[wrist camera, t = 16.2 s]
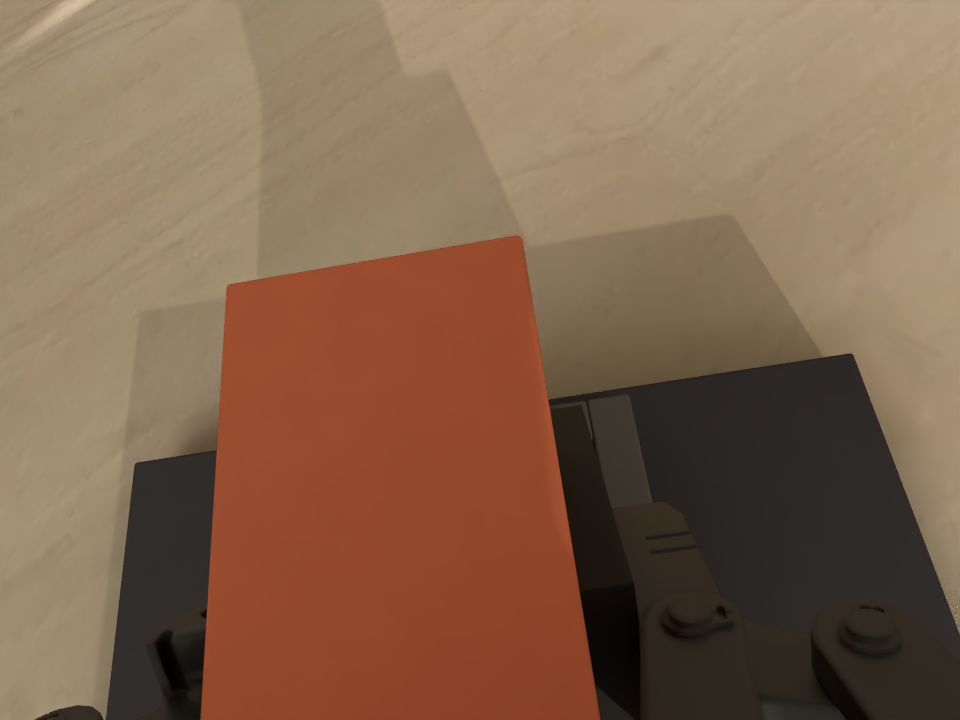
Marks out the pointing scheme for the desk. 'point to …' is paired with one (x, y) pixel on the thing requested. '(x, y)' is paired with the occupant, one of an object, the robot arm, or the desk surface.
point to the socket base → (633, 481)
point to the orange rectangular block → (391, 500)
